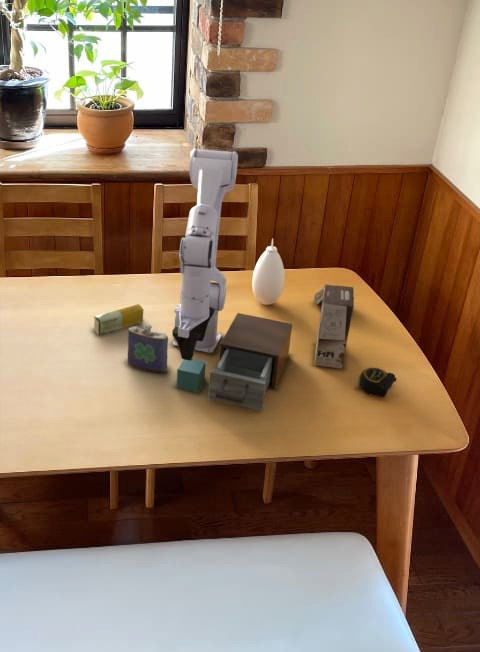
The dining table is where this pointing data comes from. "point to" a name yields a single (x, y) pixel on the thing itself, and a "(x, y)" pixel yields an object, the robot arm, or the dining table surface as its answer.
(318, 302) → the fossilized seashell
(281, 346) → the cabinet
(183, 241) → the robot arm
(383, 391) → the tape measure
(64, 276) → the dining table surface
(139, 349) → the flask
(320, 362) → the coffee box
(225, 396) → the drawer
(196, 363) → the block
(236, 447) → the dining table surface
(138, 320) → the medication box
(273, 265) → the sauce bottle
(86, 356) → the dining table surface
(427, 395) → the dining table surface
